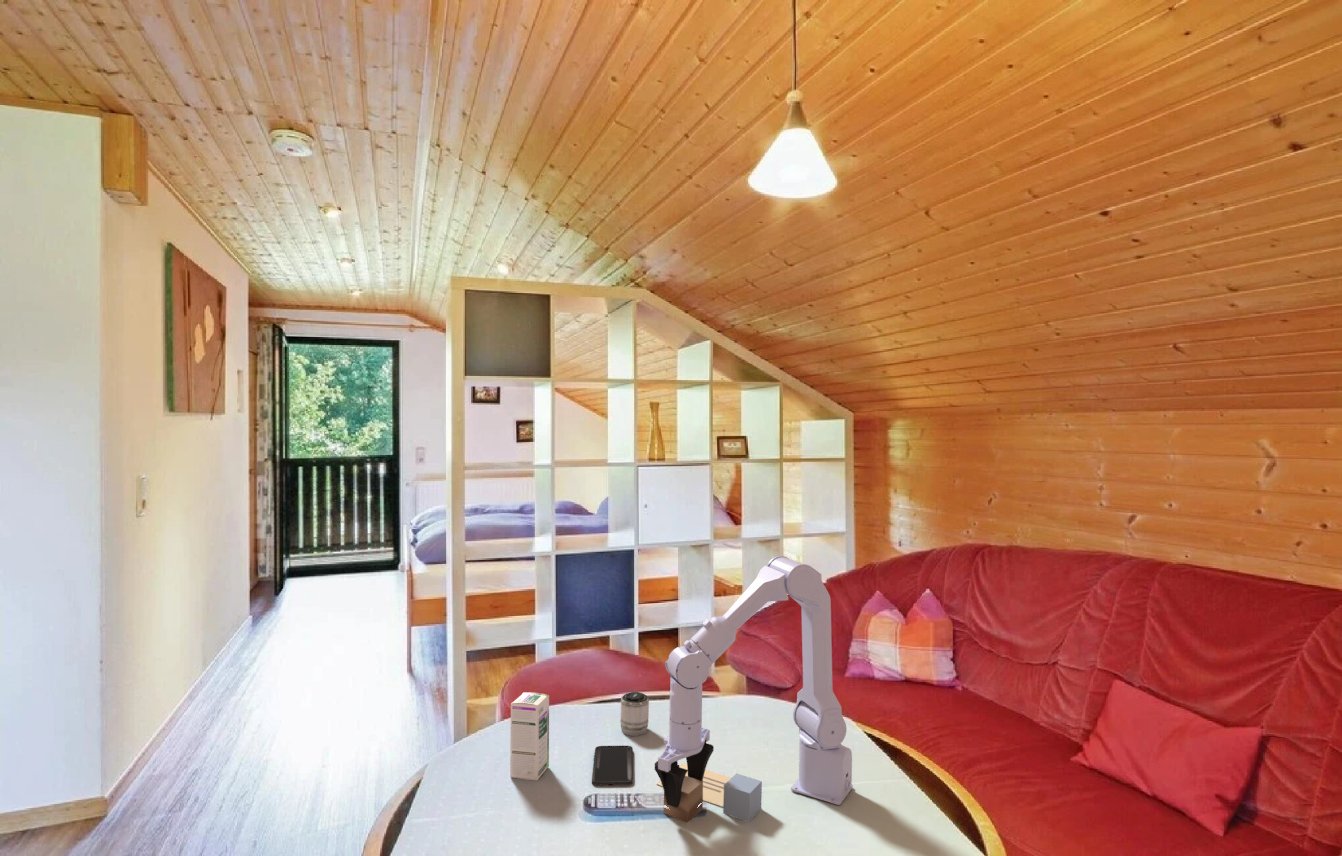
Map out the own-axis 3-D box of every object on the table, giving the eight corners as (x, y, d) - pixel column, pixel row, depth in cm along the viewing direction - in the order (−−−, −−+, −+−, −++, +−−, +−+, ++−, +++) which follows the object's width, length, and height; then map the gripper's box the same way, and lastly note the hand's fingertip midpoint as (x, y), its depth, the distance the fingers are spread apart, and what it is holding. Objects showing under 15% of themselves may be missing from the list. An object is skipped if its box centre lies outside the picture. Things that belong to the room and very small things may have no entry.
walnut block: (702, 809, 122) (702, 781, 122) (688, 822, 117) (688, 793, 117) (678, 801, 124) (678, 773, 124) (663, 813, 120) (664, 785, 120)
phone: (632, 745, 144) (632, 781, 129) (632, 750, 144) (632, 787, 129) (594, 745, 144) (590, 782, 129) (594, 751, 144) (590, 788, 129)
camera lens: (616, 734, 151) (616, 698, 151) (626, 722, 157) (626, 688, 157) (642, 738, 149) (643, 702, 149) (652, 726, 155) (652, 692, 155)
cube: (761, 809, 122) (761, 781, 122) (749, 822, 118) (749, 793, 118) (735, 800, 125) (736, 773, 125) (723, 813, 121) (723, 784, 121)
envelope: (746, 783, 131) (746, 782, 131) (722, 807, 122) (722, 806, 122) (683, 763, 138) (683, 762, 138) (656, 784, 130) (656, 783, 130)
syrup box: (537, 781, 130) (539, 704, 130) (508, 777, 131) (510, 701, 131) (549, 767, 136) (550, 693, 136) (521, 763, 137) (522, 690, 137)
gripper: (687, 699, 129) (685, 771, 129) (643, 726, 117) (642, 807, 117) (720, 708, 125) (718, 782, 125) (679, 737, 113) (677, 820, 113)
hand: (684, 795), depth 121 cm, fingers open, 7 cm apart
